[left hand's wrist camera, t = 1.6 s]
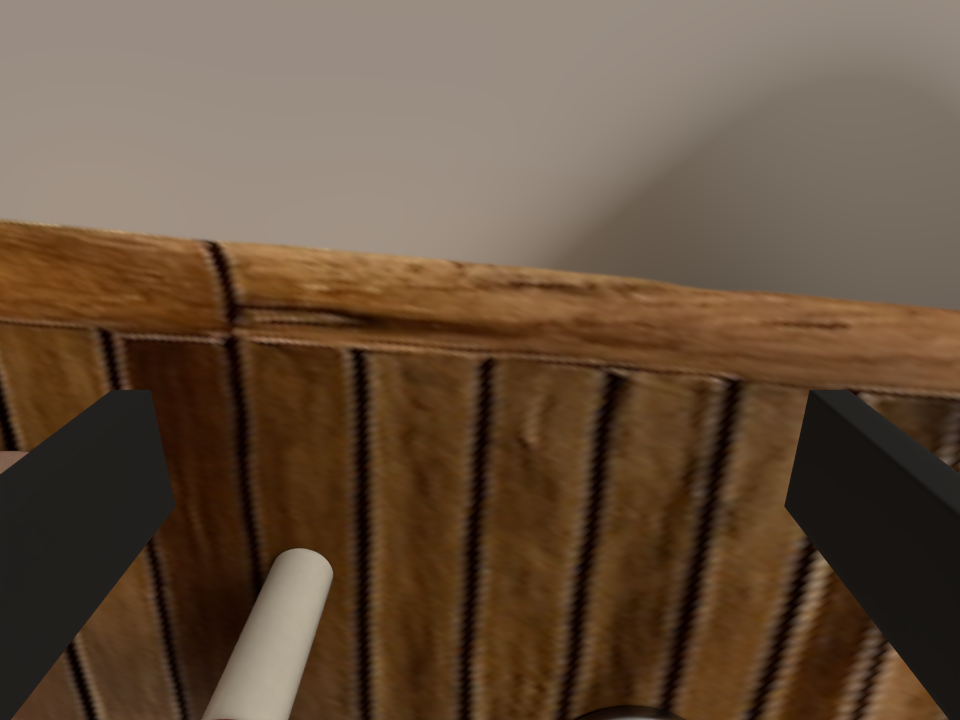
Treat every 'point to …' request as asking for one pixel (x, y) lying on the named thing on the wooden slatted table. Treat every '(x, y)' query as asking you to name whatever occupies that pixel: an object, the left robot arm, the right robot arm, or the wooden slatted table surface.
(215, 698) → the white cylindrical bottle
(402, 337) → the wooden slatted table surface
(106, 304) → the wooden slatted table surface
